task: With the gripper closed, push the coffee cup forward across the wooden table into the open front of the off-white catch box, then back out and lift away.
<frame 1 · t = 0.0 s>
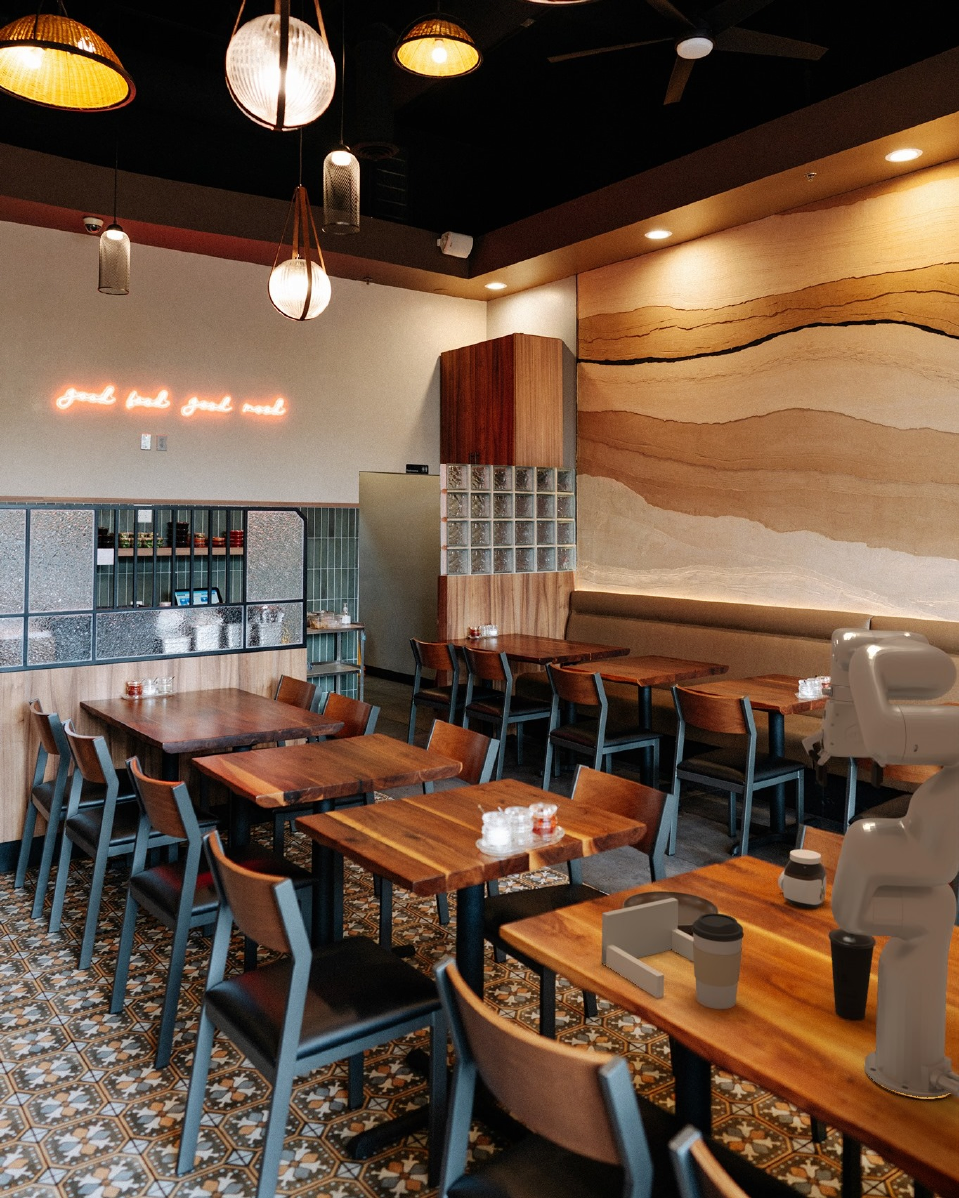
hand: (849, 785, 173), 37 cm above the table, tool pointing down, fingers open, 9 cm apart
catch box: (667, 971, 178), on the table
plant saucer: (669, 921, 205), on the table
spread jar: (799, 901, 217), on the table
drinking cup: (849, 1015, 162), on the table
coffee cup: (716, 1000, 167), on the table
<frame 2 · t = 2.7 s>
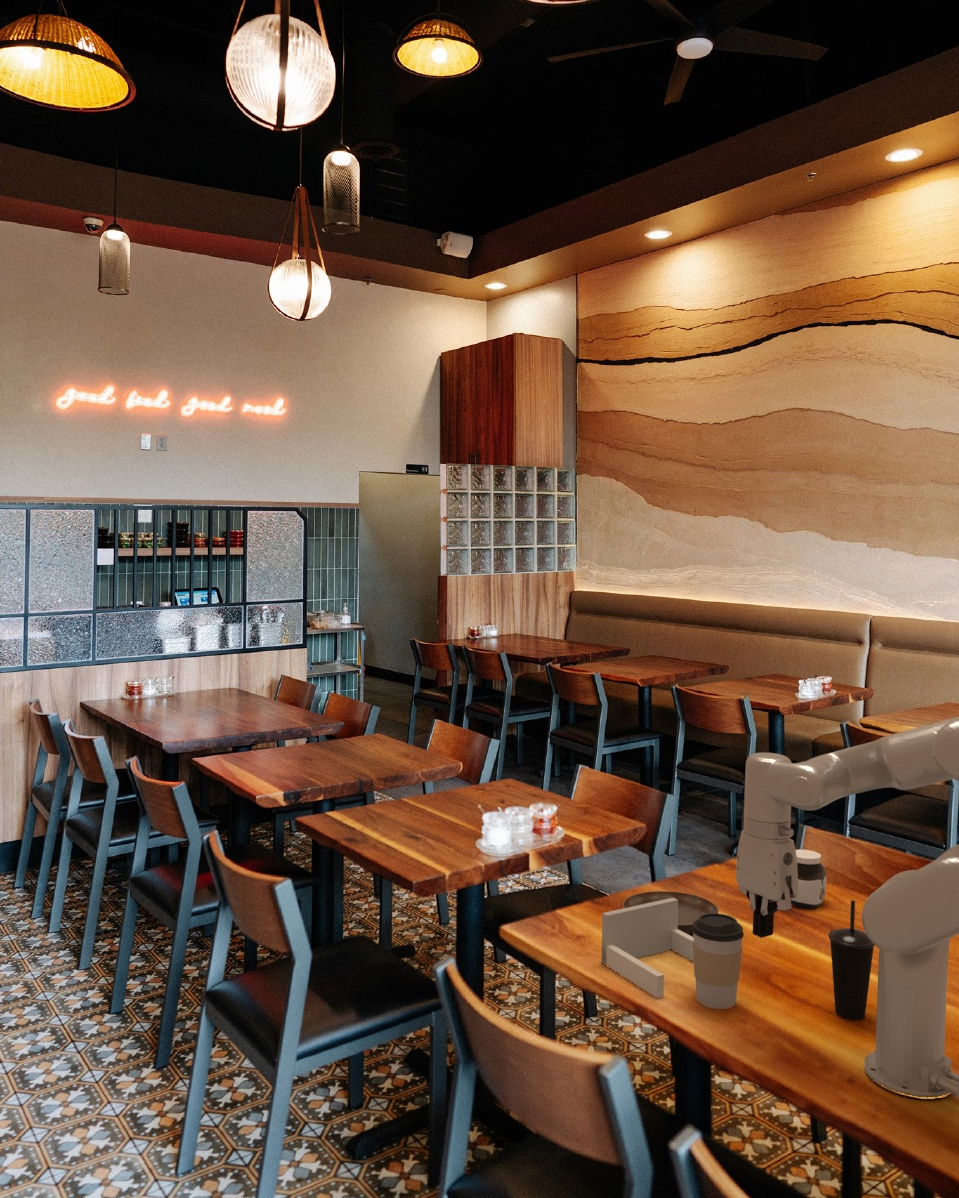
hand: (762, 934, 157), 16 cm above the table, tool pointing down, fingers closed
nothing on the table moved.
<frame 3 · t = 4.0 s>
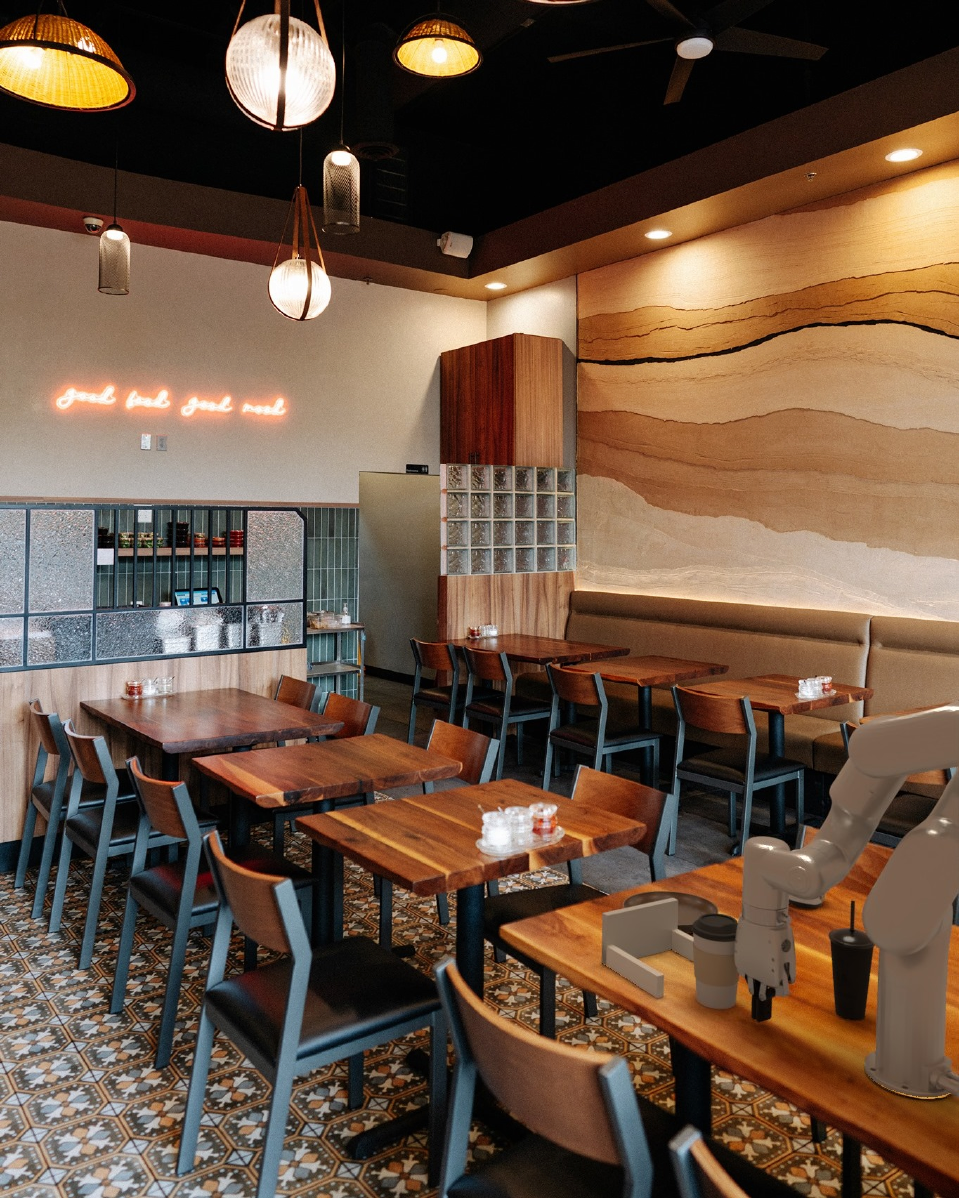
hand: (761, 1018, 158), 1 cm above the table, tool pointing down, fingers closed
nothing on the table moved.
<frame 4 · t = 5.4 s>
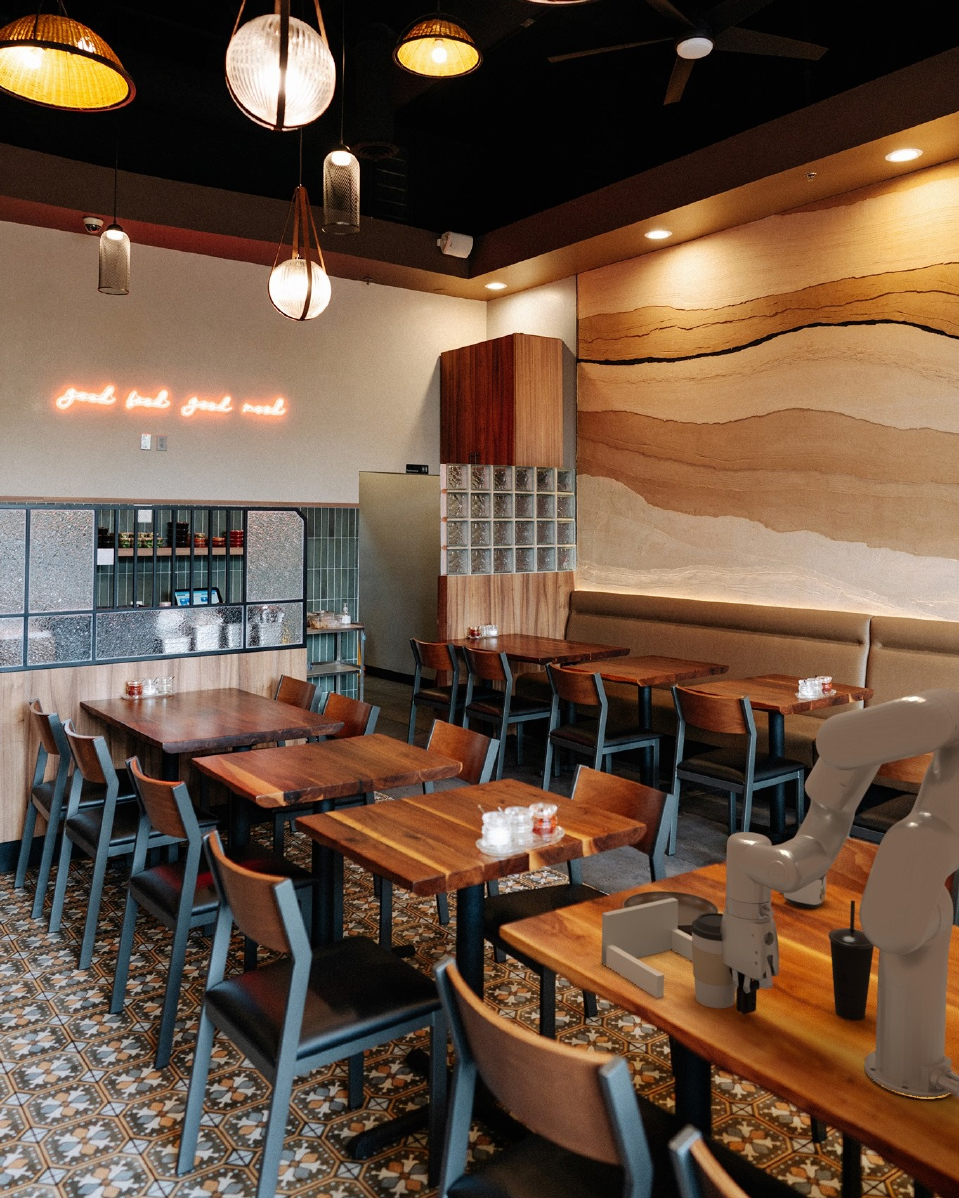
hand: (746, 1010, 161), 1 cm above the table, tool pointing down, fingers closed
coffee cup: (714, 1000, 167), on the table, touching gripper
everything else where it was.
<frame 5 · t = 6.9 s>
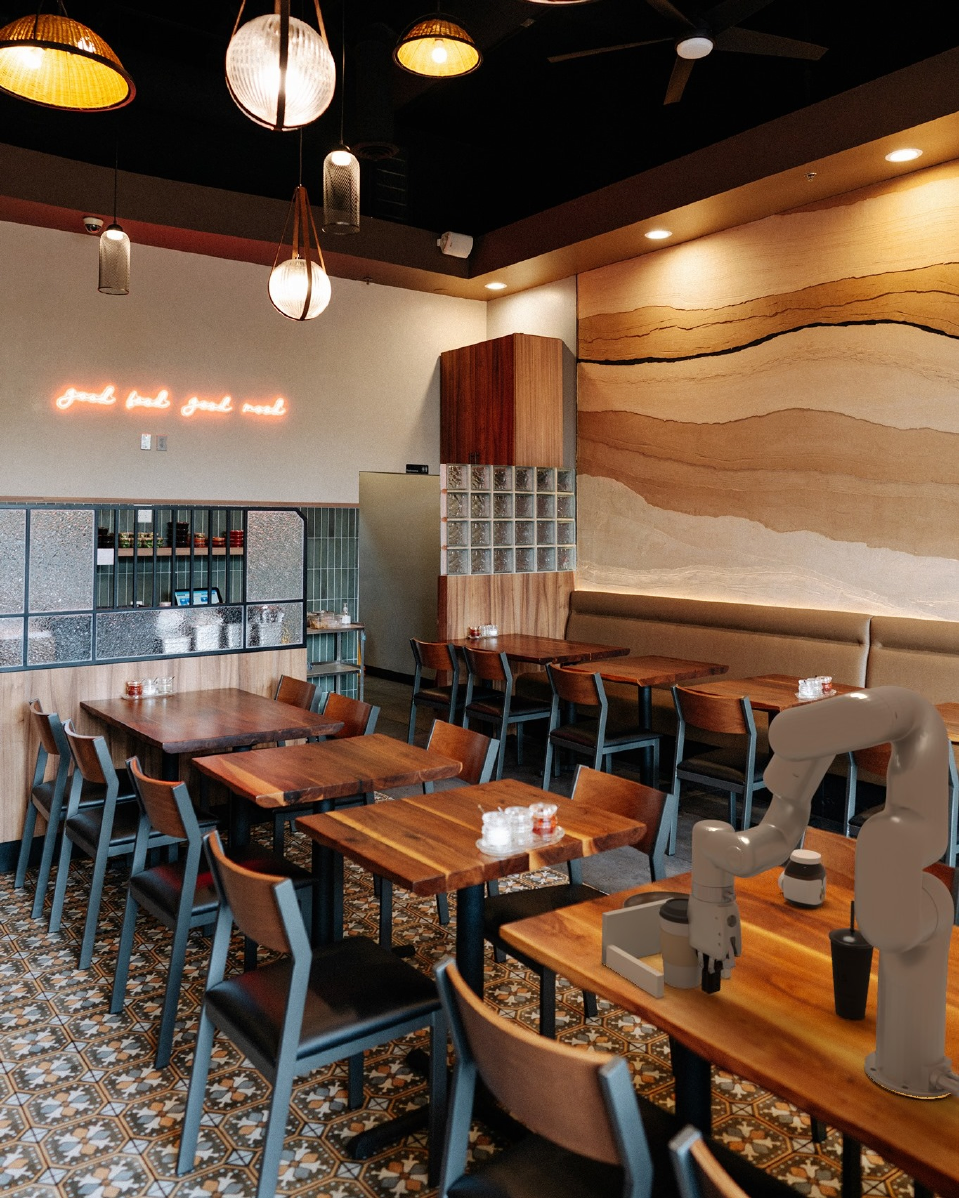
hand: (710, 990, 168), 1 cm above the table, tool pointing down, fingers closed
coffee cup: (682, 981, 175), on the table, touching gripper
everything else where it was.
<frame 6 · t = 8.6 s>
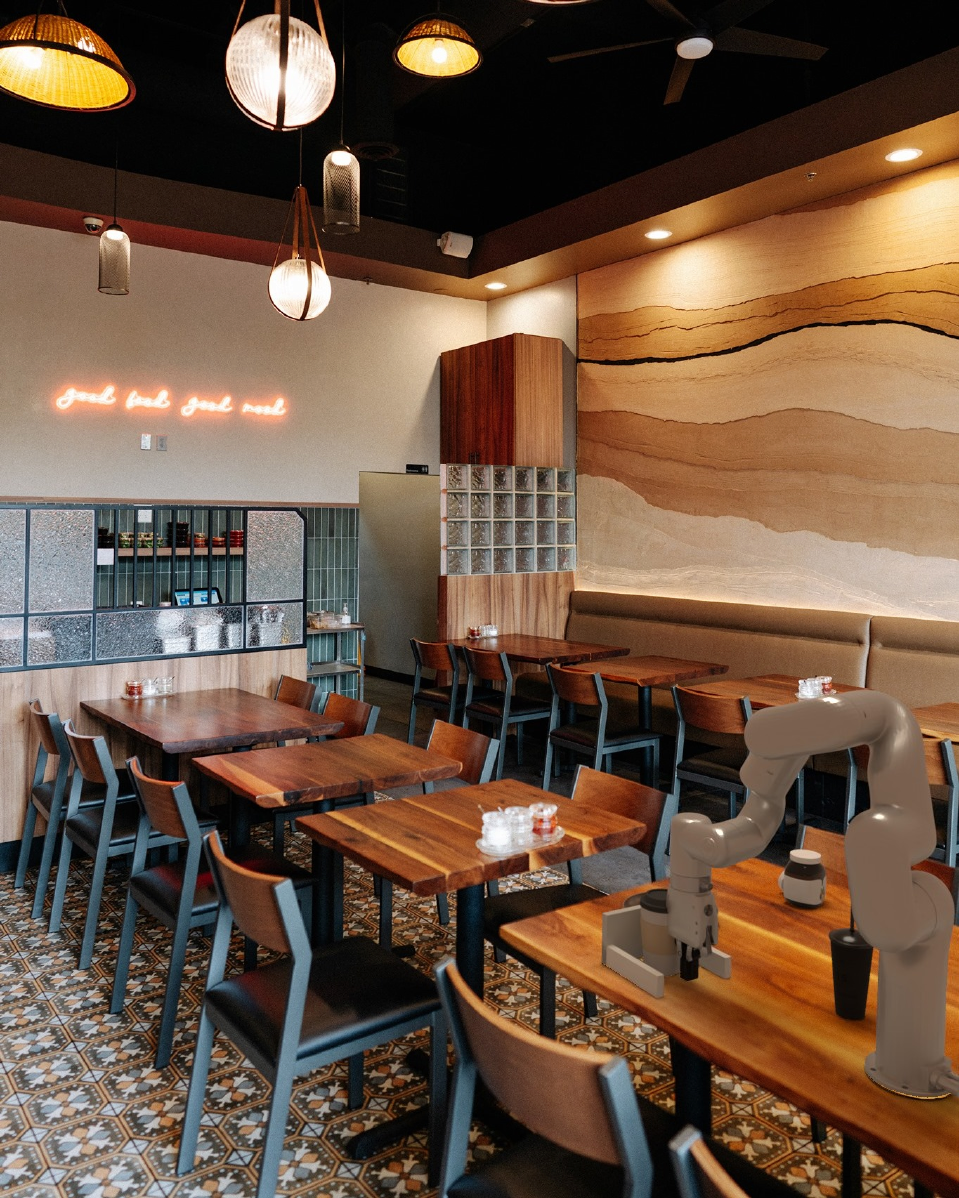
hand: (689, 978, 173), 1 cm above the table, tool pointing down, fingers closed
coffee cup: (661, 969, 180), on the table, touching gripper
everything else where it was.
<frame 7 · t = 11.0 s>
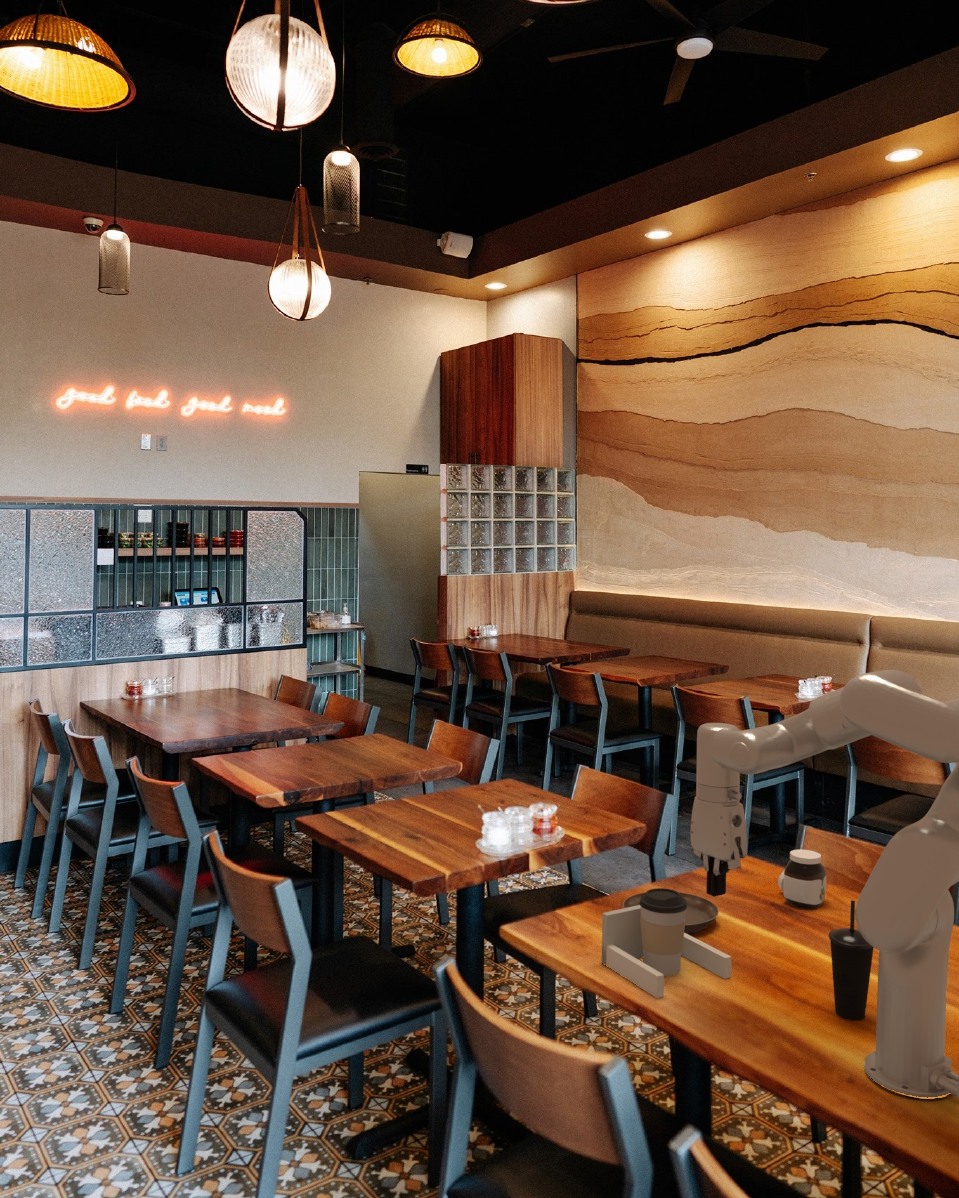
hand: (716, 893, 167), 19 cm above the table, tool pointing down, fingers closed
coffee cup: (661, 969, 180), on the table
everything else where it was.
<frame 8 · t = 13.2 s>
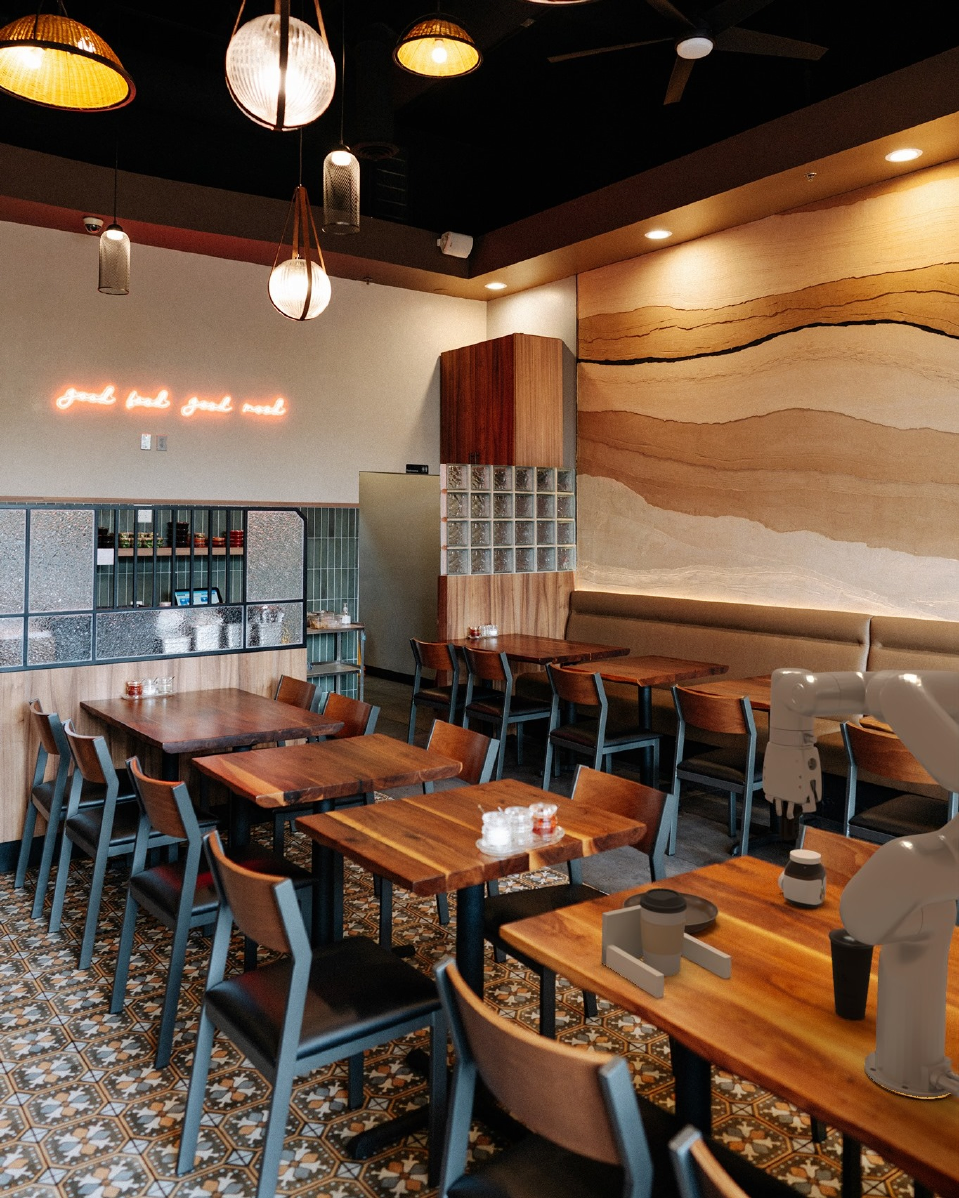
hand: (788, 838, 167), 29 cm above the table, tool pointing down, fingers closed
nothing on the table moved.
at the end: coffee cup inside the target area on the catch box (1.2 cm from its centre), point 0.0 cm above the catch box's base; coffee cup tilted 0°; coffee cup moved 14.7 cm from its start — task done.
